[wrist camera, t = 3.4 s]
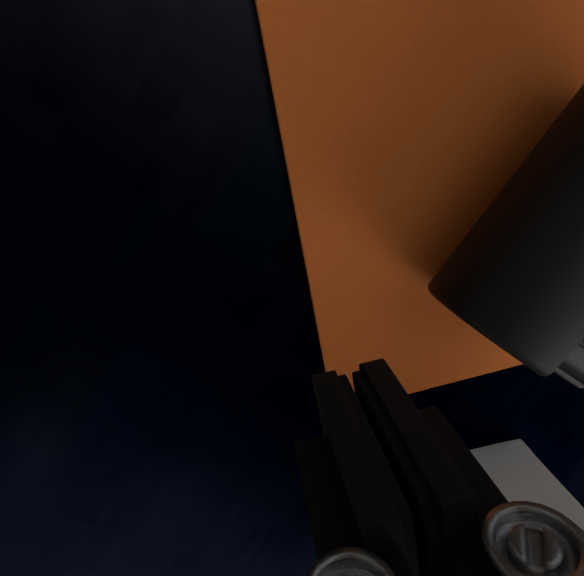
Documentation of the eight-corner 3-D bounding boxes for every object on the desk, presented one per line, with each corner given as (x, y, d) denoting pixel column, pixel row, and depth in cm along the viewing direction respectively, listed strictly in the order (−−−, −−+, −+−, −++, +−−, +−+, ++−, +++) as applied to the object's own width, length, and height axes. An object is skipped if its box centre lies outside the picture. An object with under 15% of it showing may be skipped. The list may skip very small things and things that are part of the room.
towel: (240, -77, 14) (240, -80, 14) (832, -180, 16) (843, -185, 15) (332, 410, 22) (333, 413, 22) (723, 307, 23) (729, 310, 23)
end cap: (551, 59, 17) (744, 24, 11) (650, 162, 19) (858, 183, 13) (396, 266, 19) (481, 338, 13) (502, 337, 21) (618, 426, 15)
